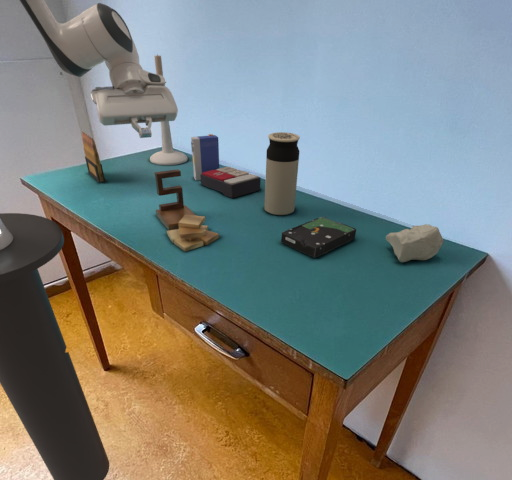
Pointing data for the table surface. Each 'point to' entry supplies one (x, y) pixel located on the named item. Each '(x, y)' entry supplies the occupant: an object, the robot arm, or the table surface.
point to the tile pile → (191, 233)
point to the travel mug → (281, 173)
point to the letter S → (171, 211)
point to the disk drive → (318, 236)
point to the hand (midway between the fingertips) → (146, 136)
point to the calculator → (231, 181)
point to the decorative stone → (416, 242)
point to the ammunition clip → (92, 158)
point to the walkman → (204, 154)
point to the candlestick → (166, 136)
